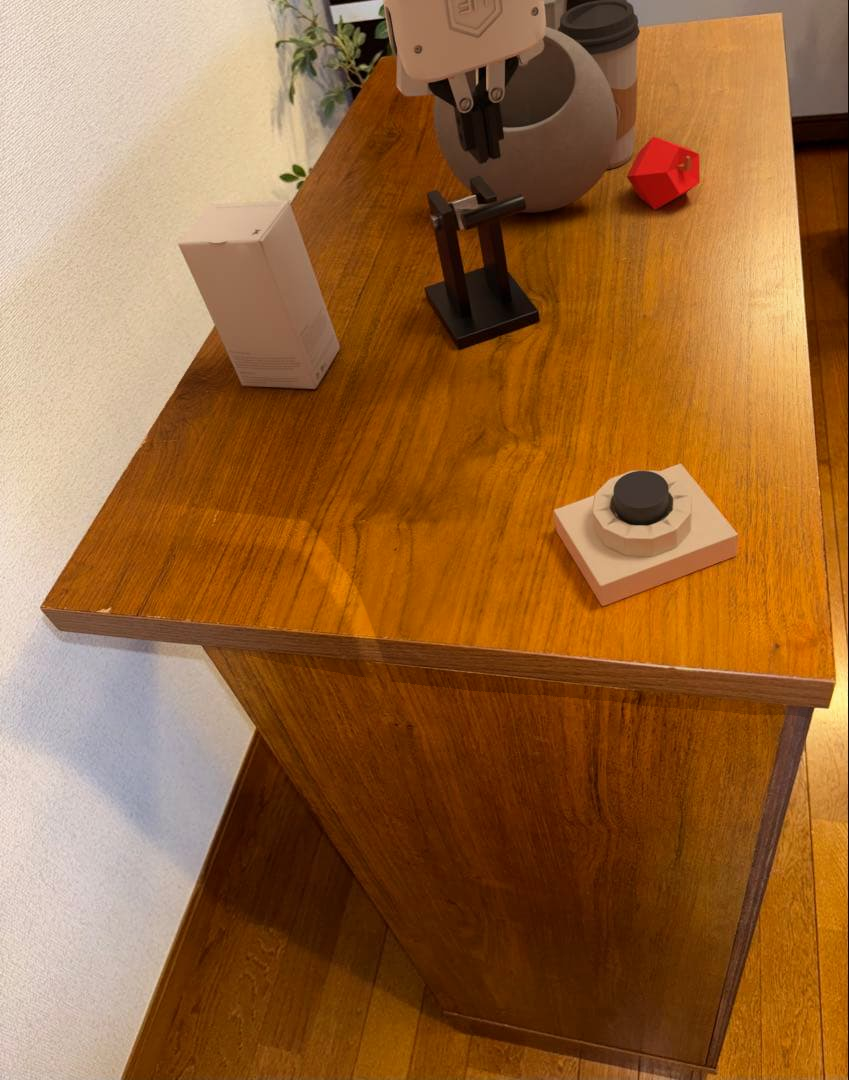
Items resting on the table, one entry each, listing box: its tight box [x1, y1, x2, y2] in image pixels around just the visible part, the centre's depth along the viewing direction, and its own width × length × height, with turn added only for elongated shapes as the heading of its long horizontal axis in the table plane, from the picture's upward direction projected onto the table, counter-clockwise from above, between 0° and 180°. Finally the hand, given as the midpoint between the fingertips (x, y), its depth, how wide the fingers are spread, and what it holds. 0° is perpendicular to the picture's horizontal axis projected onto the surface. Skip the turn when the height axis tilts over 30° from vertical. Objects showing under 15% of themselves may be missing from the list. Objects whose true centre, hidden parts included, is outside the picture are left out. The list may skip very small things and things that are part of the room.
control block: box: [553, 463, 739, 607], centre depth 68 cm, size 10×8×4 cm
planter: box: [433, 27, 617, 214], centre depth 97 cm, size 18×7×19 cm, turn 72°
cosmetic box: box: [177, 200, 341, 390], centre depth 87 cm, size 8×7×16 cm
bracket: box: [424, 176, 541, 350], centre depth 89 cm, size 10×8×12 cm
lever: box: [447, 193, 526, 231], centre depth 82 cm, size 12×5×2 cm, turn 18°
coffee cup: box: [557, 0, 641, 170], centre depth 103 cm, size 8×8×15 cm
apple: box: [626, 135, 701, 211], centre depth 98 cm, size 7×7×8 cm
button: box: [614, 470, 669, 526], centre depth 66 cm, size 4×4×2 cm
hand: (483, 153), depth 73 cm, fingers closed
